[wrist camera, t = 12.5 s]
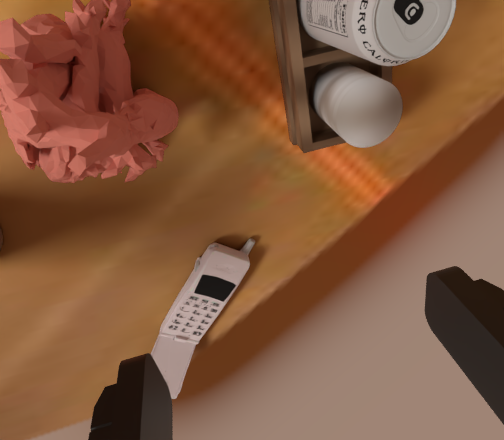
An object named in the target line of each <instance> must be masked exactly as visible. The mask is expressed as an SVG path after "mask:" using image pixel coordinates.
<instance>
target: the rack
mask: <svg viewBox="0 0 504 440" xmlns="http://www.w3.org/2000/svg"><path fill="white" fill-rule="evenodd" d="M297 1H298V0H269V5H270V12H271V18H272V25H273V32H274V38H275V45H276V51H277V58H278V64H279V71H280V77H281V84H282V91H283V97H284V104H285V110H286V117H287V123H288V130H289V136H290V141H291V142H292V144H293V145H298V146H299V147H300V149H301V150H302V151H303V153H306V152H310V151H314V150H318V149H322V148H326V147H330V146H334V145H337V144H341V143H345V142H347V143H348V144H350V145H352V146H355V147H361V148H365V147H371V146H374V145H377V144H379V143H381V142H382V141H384V140H385V139H387V138H388V137H389V136H390V135H391V134H392V133H393V131H394V130H395V129H396V127H397V125H398V123H399V121H400V118H401V115H402V109H403V104H402V98H401V95H400V93H399V91H398V89H397V88H396V87H395V86H394V85H393V84H392V66H383V65H378V64H376V63H373V62H371V61H368V60H366V59H363V58H361V57H358V56H356V55H353V54H351V53H348V52H346V51H343V50H341V49H338V48H336V47H333V46H331V45H328V44H326V43H323V42H321V41H319V40H316V39H314V38H312V37H311V36H310V35H308V34H307V32H306V31H305V30H304V29H303V27H302V25H301V23H300V20H299V17H298V11H297Z"/></svg>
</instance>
